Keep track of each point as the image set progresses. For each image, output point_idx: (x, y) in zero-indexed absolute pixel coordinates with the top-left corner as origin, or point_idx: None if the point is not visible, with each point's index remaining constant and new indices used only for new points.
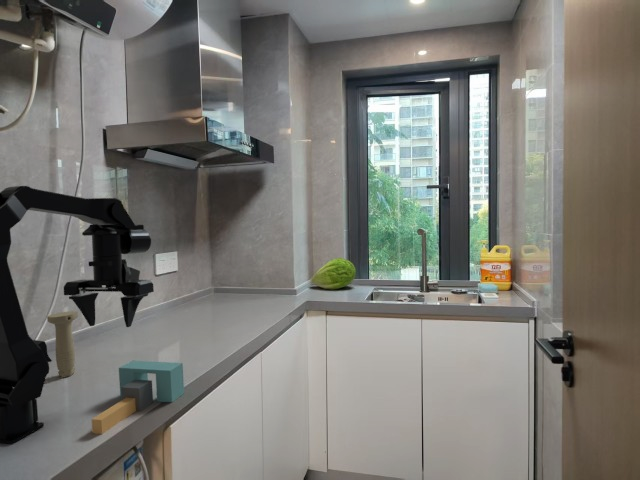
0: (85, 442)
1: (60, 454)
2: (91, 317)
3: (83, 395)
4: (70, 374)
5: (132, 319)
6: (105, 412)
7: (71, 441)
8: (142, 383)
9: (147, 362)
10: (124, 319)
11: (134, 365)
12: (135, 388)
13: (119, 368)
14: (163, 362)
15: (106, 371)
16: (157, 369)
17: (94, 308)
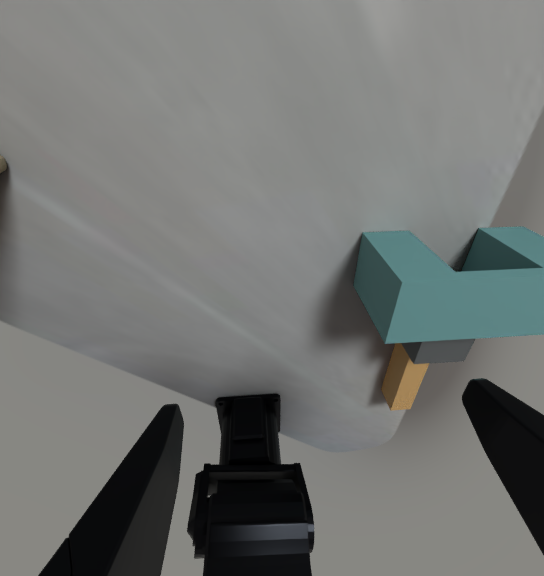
0: (386, 405)
1: (369, 425)
2: (168, 489)
3: (234, 287)
4: (4, 165)
5: (536, 419)
6: (402, 393)
7: (362, 407)
8: (462, 339)
9: (471, 289)
10: (497, 470)
11: (432, 320)
12: (453, 361)
13: (386, 342)
14: (536, 279)
15: (103, 72)
16: (524, 332)
17: (116, 563)
